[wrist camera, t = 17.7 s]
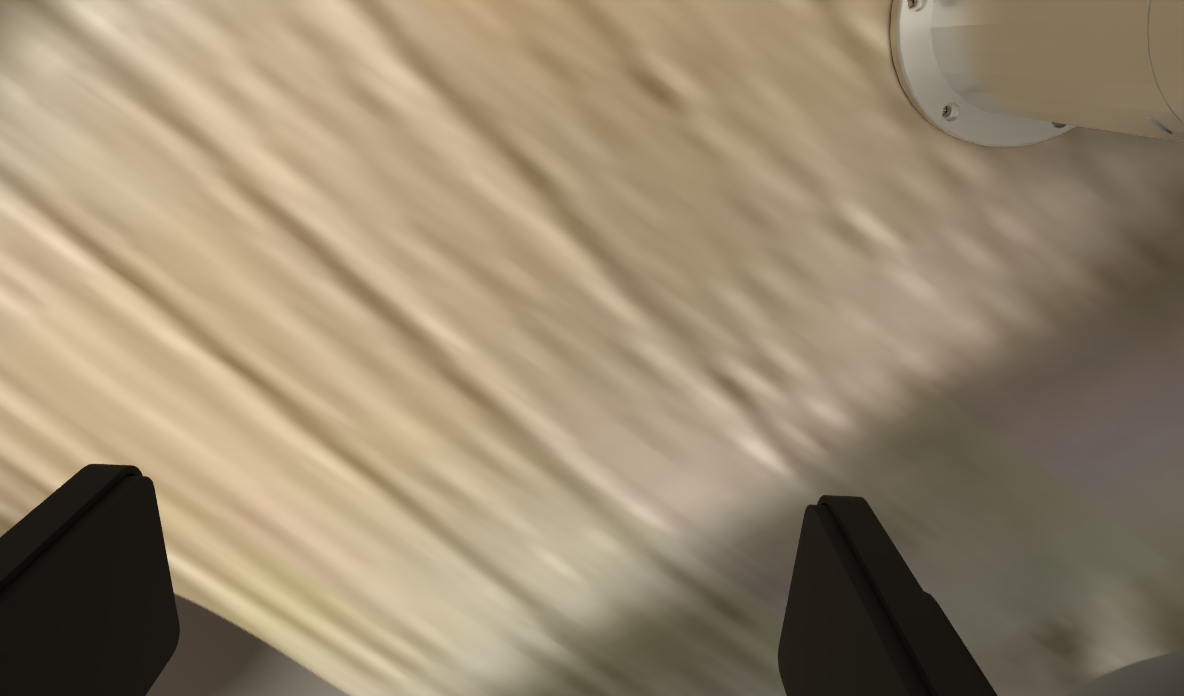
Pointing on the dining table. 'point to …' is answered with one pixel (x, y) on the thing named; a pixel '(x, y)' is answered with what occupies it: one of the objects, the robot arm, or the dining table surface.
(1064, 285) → the dining table surface
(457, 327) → the dining table surface
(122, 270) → the dining table surface
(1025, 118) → the robot arm
